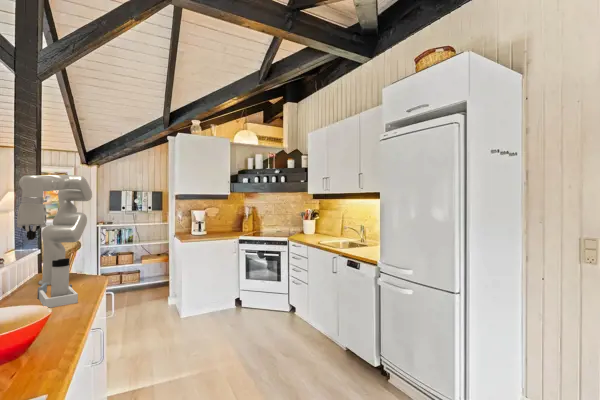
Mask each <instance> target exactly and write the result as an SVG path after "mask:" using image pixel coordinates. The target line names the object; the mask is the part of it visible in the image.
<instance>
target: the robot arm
mask: <svg viewBox="0 0 600 400" xmlns="http://www.w3.org/2000/svg"><path fill="white" fill-rule="evenodd" d="M18 184H19V188H20V189H21V190H22V192H21V193H22V194H21V195H22V197H21V199H22V200H21V203H20V204H19V206H18V210H17V217H16V227H17V228H19V229H23V230H24V231H25V232H26V238H27V240H28V241H33V240H35V239H36V237H37V236H36V235H37V231H38V230H39V229H41V228H43V229H42V231H41V239H42V244H43V246H42V247H43V257H42V259H43V261H42V278H41V279H40V280H39V281H38V285H41V286H42V285H43V284H44V283H47V286H51V279H52V261H53V260H58V259H66V252H67V251H66V247H65V246H64V245H63V244H62V243H76V242H79V240H81V237H82V236H83V234H84V231H85V229H86V226H87V224H88V217H87V215H86V214H85V213H83V212H77V211H78V208H77V206H75V205H74V203H73V202H89V201H90V200H92V198H93V192H92V189H91V187H90V185H89V183H88V181H87V179H86V177H84V176H83V175H78V174H77V175H75V174H46V175H45V174H44V175H36V174H35V175H22V177H21V178H19V182H18ZM52 191H58V192H57V197H58V198H57V199H58V204H59V208H58V210H57V212H56V214H55V216H54V217H53V219H52V225H47V220H48V219H47V218H48V217H47V207H46V204H44V203H47V201H48V199H46V198H44V192H52ZM31 226H32V228H31Z"/></svg>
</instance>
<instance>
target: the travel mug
mask: <svg viewBox="0 0 600 400" xmlns="http://www.w3.org/2000/svg"><path fill="white" fill-rule="evenodd" d="M69 284H70V258H67V257H65V259H58V260H53V261H52V279H51V285H50V298H52V297H58V296H64V295H68V292H69Z"/></svg>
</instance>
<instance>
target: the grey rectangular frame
mask: <svg viewBox="0 0 600 400" xmlns="http://www.w3.org/2000/svg"><path fill="white" fill-rule="evenodd" d="M38 300H39V302H40V304H41V305H42V306H43V307H44V306H47V307H50V308H49V309H51V308H57V307H61V306H68V305H73V304H78V302H79V293H78V292H76V291H75V290H74V289H73V283H69V292H68V295H64V296H58V297H52V298H51V297H49V296H48V295H47V294H46V293H44V291H43V290H40V291H39V299H38Z"/></svg>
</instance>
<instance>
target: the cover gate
mask: <svg viewBox="0 0 600 400" xmlns="http://www.w3.org/2000/svg"><path fill="white" fill-rule="evenodd" d="M40 290H43V291H44V293H45V294H46V293H47V292H48V285H47V283H44V284H43V285H41V286H39V287H38V286H37V293H36V294H37V295H36V298H37V300H39V291H40Z"/></svg>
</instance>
